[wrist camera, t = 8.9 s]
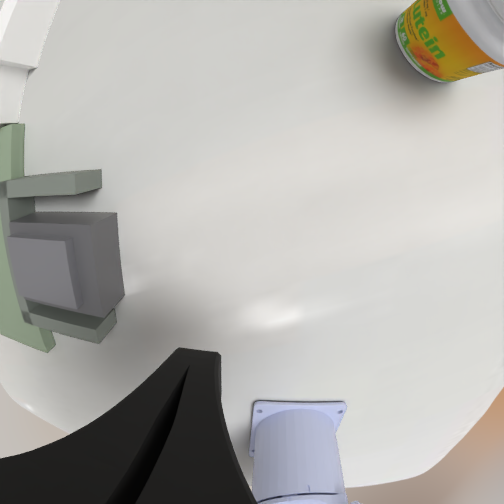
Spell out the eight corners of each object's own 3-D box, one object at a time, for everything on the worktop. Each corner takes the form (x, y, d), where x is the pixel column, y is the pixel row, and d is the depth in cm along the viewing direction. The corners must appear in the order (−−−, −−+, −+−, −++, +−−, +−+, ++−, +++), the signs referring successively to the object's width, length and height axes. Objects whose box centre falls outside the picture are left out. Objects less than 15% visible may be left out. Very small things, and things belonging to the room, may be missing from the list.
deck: (126, 363, 21) (112, 386, 19) (8, 327, 22) (-8, 341, 19) (103, 105, 15) (77, 100, 12) (-21, 139, 16) (-43, 142, 13)
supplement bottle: (378, 13, 12) (453, -68, 2) (440, 12, 11) (523, -38, 1) (414, 88, 14) (528, 52, 4) (471, 81, 13) (576, 63, 3)
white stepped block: (61, -23, 11) (26, -44, 5) (117, 20, 13) (74, -10, 8) (-26, 102, 15) (-65, 103, 9) (9, 170, 17) (-39, 181, 12)
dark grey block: (126, 293, 20) (98, 324, 15) (49, 281, 20) (18, 303, 16) (118, 211, 18) (82, 228, 13) (38, 210, 18) (1, 225, 14)
